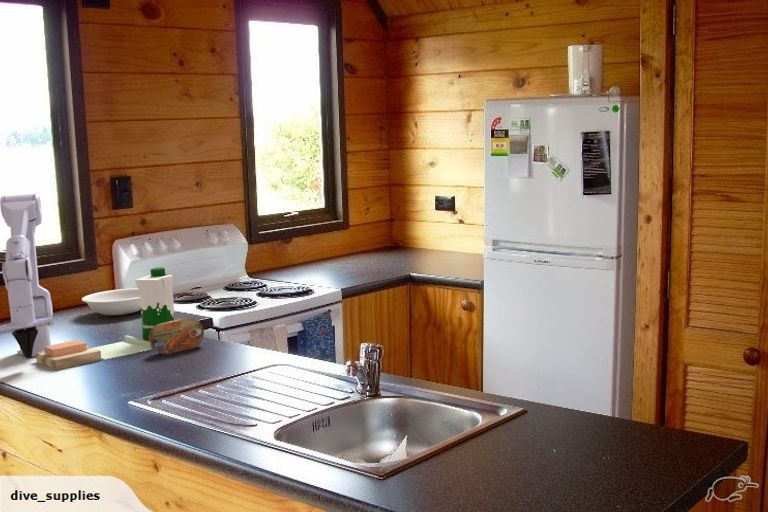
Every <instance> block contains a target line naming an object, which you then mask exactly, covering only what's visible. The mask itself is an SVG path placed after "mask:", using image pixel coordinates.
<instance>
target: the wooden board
mask: <svg viewBox="0 0 768 512" xmlns="http://www.w3.org/2000/svg"><path fill="white" fill-rule="evenodd" d="M35 359H36V362H37V363H38V364H42V365H44V366H46V367H49V368H51V369H52V370H53V369H54V370H55V371H58V370H64V369H68V368H72V367H71V366H73V367H76V366H75V365H77V366H81V365H80V364H82V365H86V364H90V362H91V363H94V362H99V360H100V361H102V360H103V359H101V351H100V350H97V349H94V347H91V346H88V345H87V350H86V351H81V352H77V353H72V354H67V355H62V356H58V357H51V356H49V355H46V354H45V351H41V352H36V356H35ZM85 363H86V364H85ZM63 368H64V369H63Z"/></svg>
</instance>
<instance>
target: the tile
mask: <svg viewBox="0 0 768 512" xmlns="http://www.w3.org/2000/svg"><path fill="white" fill-rule="evenodd" d="M87 346H88V345H87V342H85V341H82V340H78V339H75V340H71V341H64V342H59V343H56V344H55V343H54V344H51V345H50V346H45V347H44V350H45V354H46V355H49V356H51V357H58V356H62V355H67V354H72V353H77V352H81V351H86V350H87Z"/></svg>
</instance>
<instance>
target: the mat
mask: <svg viewBox="0 0 768 512" xmlns="http://www.w3.org/2000/svg"><path fill="white" fill-rule="evenodd" d="M93 348H94V349H97V350H100V351H101V359H102V360H103V361H107V359H108V360H113V359H117V358H122V357H126V356H129V355H135V354H139V352H140V353H144V352H148V350H149V351H154V350H153V349H152V347H151V346H150V343H149V341H145V340H143V338H142V339H141V338H138V337H134V336H131V335H128V334H127V335H124V340H123V341H119V342H118V341H117V342H115V343H114V342H113V343H109V344H105V345H99V346H94V347H93ZM143 351H144V352H143ZM112 358H113V359H112Z"/></svg>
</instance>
